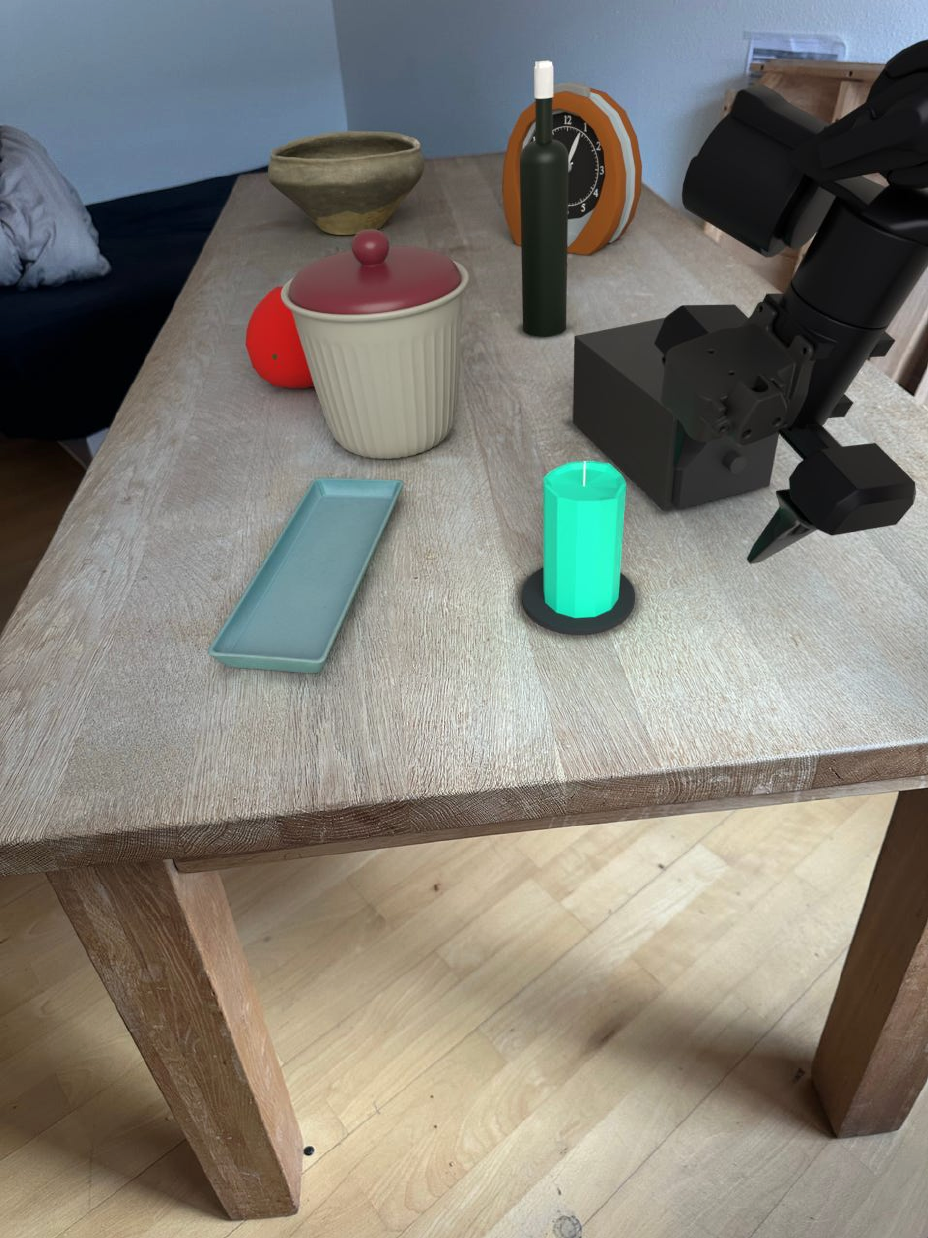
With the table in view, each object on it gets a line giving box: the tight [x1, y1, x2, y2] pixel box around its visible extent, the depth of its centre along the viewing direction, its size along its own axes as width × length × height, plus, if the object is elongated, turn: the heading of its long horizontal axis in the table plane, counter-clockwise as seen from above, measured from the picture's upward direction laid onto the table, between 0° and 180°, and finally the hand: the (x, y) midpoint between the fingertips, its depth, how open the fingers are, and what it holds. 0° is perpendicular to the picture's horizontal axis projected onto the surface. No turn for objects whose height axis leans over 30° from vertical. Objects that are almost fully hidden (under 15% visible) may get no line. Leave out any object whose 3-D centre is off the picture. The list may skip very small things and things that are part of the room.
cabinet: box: [572, 317, 678, 512], centre depth 82 cm, size 20×11×10 cm, turn 19°
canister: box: [281, 229, 470, 460], centre depth 85 cm, size 18×18×21 cm
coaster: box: [521, 567, 636, 636], centre depth 68 cm, size 9×9×1 cm
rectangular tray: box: [207, 477, 405, 674], centre depth 72 cm, size 26×9×2 cm, turn 170°
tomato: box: [245, 285, 315, 389], centre depth 101 cm, size 13×13×13 cm
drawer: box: [672, 432, 780, 510], centre depth 80 cm, size 20×9×8 cm, turn 19°
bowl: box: [267, 130, 425, 236], centre depth 153 cm, size 28×28×14 cm
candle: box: [542, 460, 627, 618], centre depth 64 cm, size 6×6×12 cm
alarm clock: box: [501, 81, 643, 256], centre depth 135 cm, size 22×10×23 cm, turn 53°
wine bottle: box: [520, 59, 569, 338], centre depth 103 cm, size 6×6×30 cm
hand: (714, 512), depth 57 cm, fingers open, 9 cm apart
